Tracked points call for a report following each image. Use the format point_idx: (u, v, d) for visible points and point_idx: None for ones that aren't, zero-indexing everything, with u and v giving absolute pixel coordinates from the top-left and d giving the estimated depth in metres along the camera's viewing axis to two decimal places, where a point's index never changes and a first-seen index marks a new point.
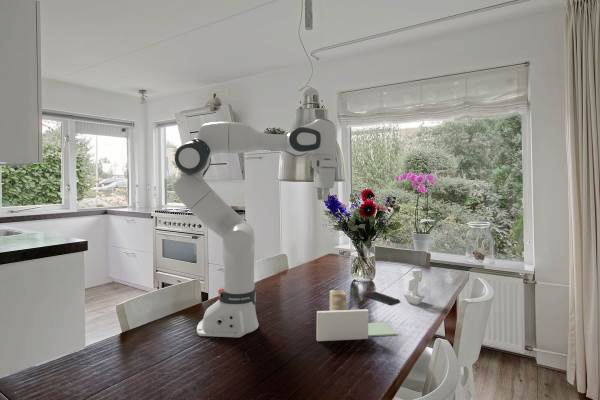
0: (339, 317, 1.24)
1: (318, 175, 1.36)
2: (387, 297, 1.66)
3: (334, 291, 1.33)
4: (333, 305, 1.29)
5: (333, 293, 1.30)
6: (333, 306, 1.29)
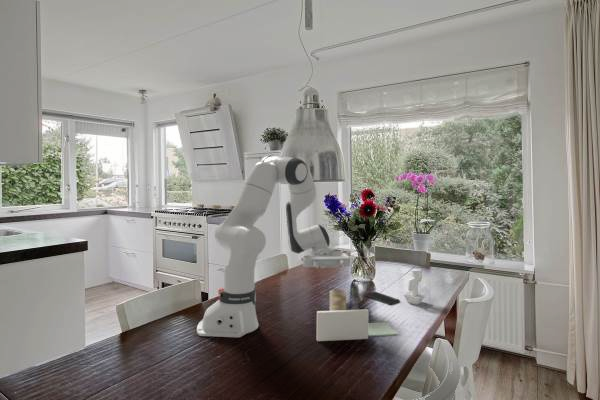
0: (339, 317, 1.24)
1: (322, 256, 1.55)
2: (387, 297, 1.66)
3: (334, 291, 1.33)
4: (333, 305, 1.29)
5: (333, 293, 1.30)
6: (333, 306, 1.29)
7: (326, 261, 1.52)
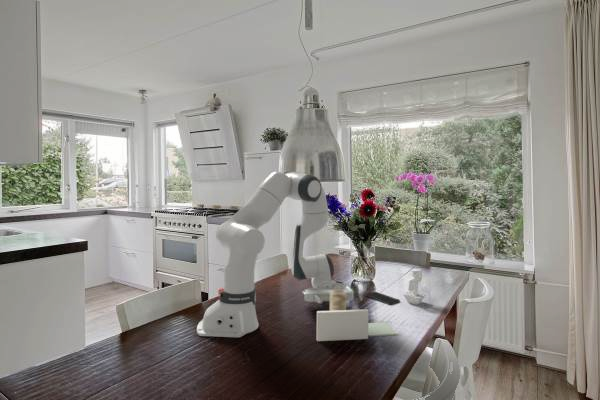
0: (339, 317, 1.24)
1: (324, 289, 1.50)
2: (387, 297, 1.66)
3: (334, 291, 1.33)
4: (333, 305, 1.29)
5: (333, 293, 1.30)
6: (333, 306, 1.29)
7: (328, 295, 1.46)
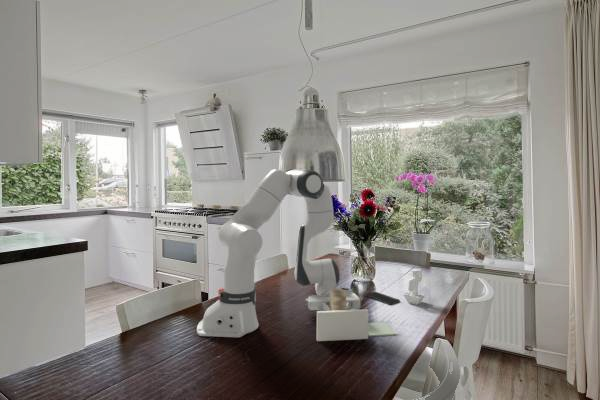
0: (339, 317, 1.24)
1: (329, 297, 1.40)
2: (387, 297, 1.66)
3: (334, 291, 1.33)
4: (333, 305, 1.29)
5: (333, 293, 1.30)
6: (333, 306, 1.29)
7: None
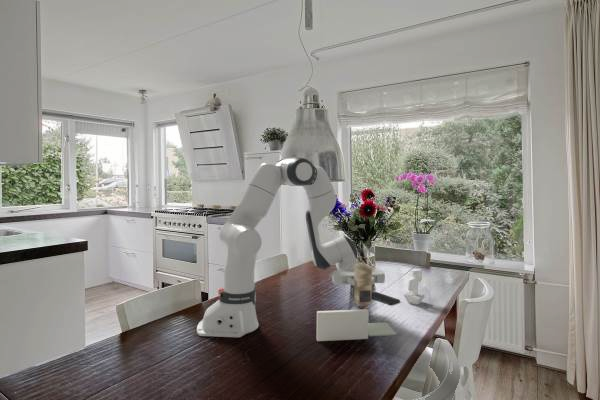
0: (339, 317, 1.24)
1: (353, 272, 1.40)
2: (387, 297, 1.66)
3: (359, 265, 1.32)
4: (359, 278, 1.29)
5: (359, 266, 1.30)
6: (359, 279, 1.29)
7: None
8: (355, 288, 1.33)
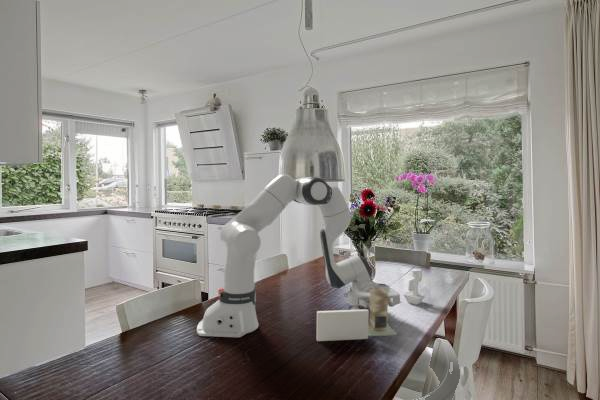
0: (339, 317, 1.24)
1: (368, 292, 1.40)
2: None
3: (375, 290, 1.33)
4: (375, 304, 1.29)
5: (375, 292, 1.30)
6: (375, 305, 1.29)
7: None
8: (370, 313, 1.33)
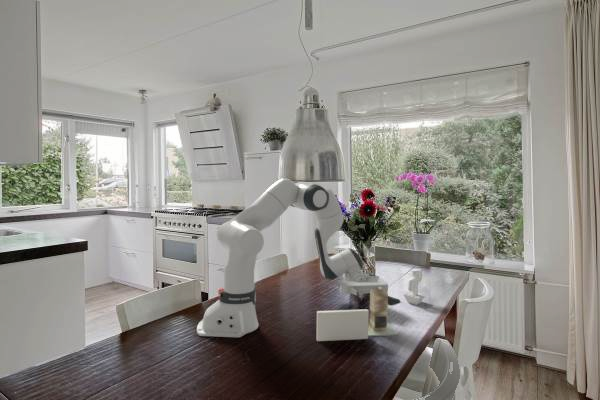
0: (339, 317, 1.24)
1: (358, 282, 1.53)
2: None
3: (375, 290, 1.33)
4: (375, 304, 1.29)
5: (375, 292, 1.30)
6: (375, 305, 1.29)
7: (364, 287, 1.49)
8: (370, 313, 1.33)
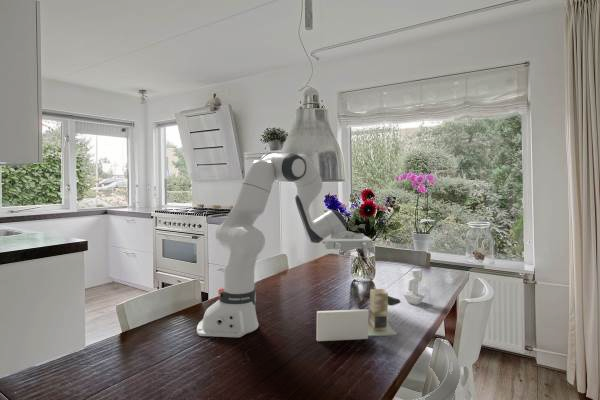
0: (339, 317, 1.24)
1: (344, 239, 1.54)
2: None
3: (375, 290, 1.33)
4: (375, 304, 1.29)
5: (375, 292, 1.30)
6: (375, 305, 1.29)
7: (348, 243, 1.50)
8: (370, 313, 1.33)
